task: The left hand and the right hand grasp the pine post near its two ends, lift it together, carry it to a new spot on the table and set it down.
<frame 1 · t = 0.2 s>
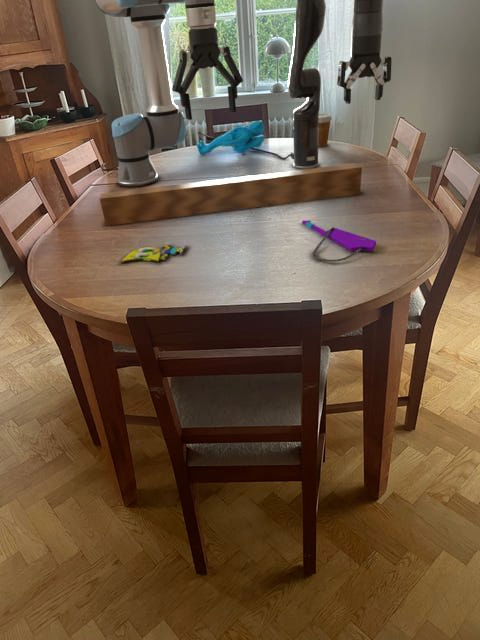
left hand: (211, 115, 136), 28 cm above the table, tool pointing down, fingers open, 13 cm apart
right hand: (362, 101, 132), 28 cm above the table, tool pointing down, fingers open, 8 cm apart
toy 2: (154, 254, 126), on the table
toy: (231, 153, 210), on the table
post: (234, 207, 152), on the table
disposable coffee cup: (319, 145, 209), on the table
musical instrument: (327, 244, 123), on the table
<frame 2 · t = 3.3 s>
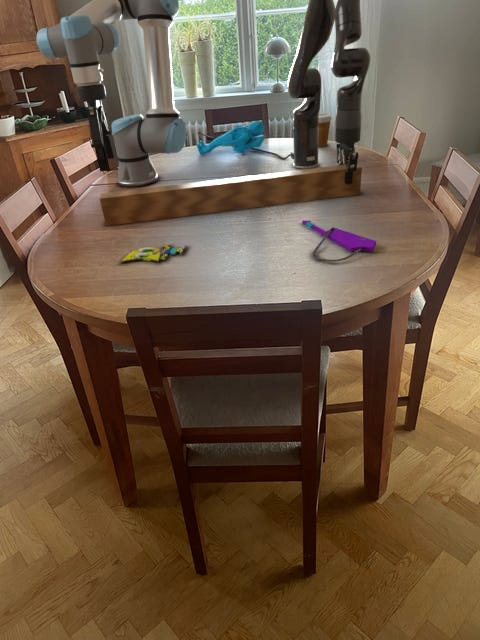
left hand: (107, 164, 140), 18 cm above the table, tool pointing down, fingers open, 13 cm apart
right hand: (345, 181, 152), 4 cm above the table, tool pointing down, fingers closed on post, 5 cm apart
post: (234, 207, 152), on the table, touching right hand
everything else where it was.
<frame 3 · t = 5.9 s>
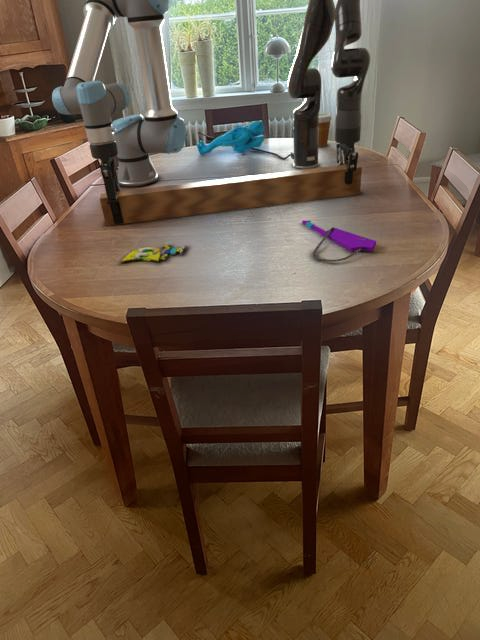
left hand: (119, 219, 149), 1 cm above the table, tool pointing down, fingers closed on post, 5 cm apart
right hand: (345, 181, 152), 4 cm above the table, tool pointing down, fingers closed on post, 5 cm apart
post: (234, 207, 152), on the table, touching left hand, right hand
everything else where it was.
when the left hand's fingers open (2 cm above the table, at t = 11.2 s): post stays where it is, on the table.
when the right hand's fingers open (5 cm above the table, at t = 11.4 s): post stays where it is, on the table.
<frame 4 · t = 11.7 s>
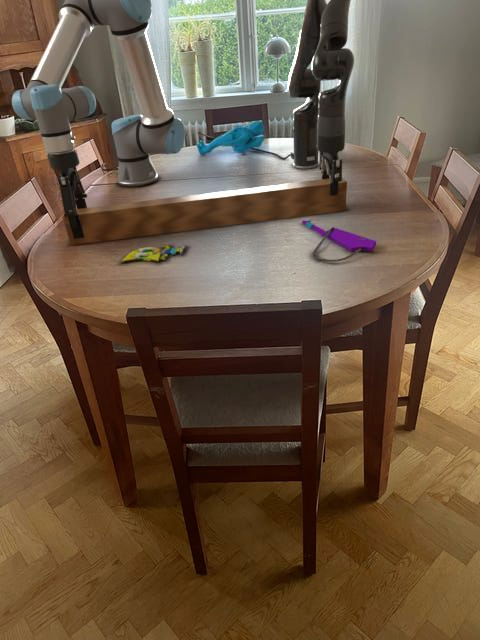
left hand: (82, 229, 136), 4 cm above the table, tool pointing down, fingers open, 12 cm apart
right hand: (329, 190, 140), 6 cm above the table, tool pointing down, fingers open, 7 cm apart
post: (210, 224, 141), on the table
everything else where it was.
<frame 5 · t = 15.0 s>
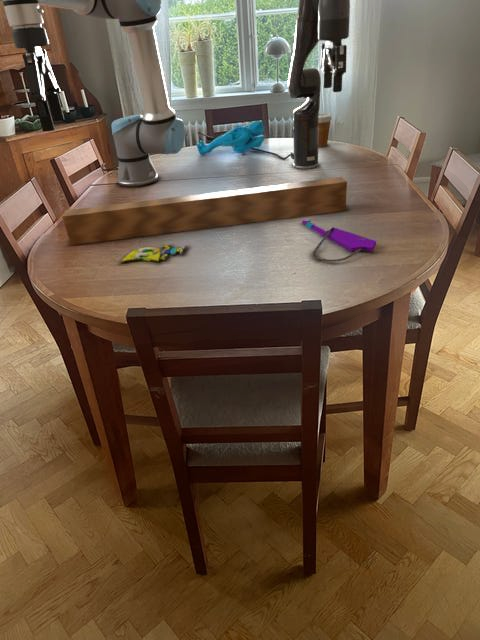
left hand: (54, 125, 121), 31 cm above the table, tool pointing down, fingers open, 13 cm apart
right hand: (332, 89, 126), 33 cm above the table, tool pointing down, fingers open, 8 cm apart
nothing on the table moved.
at the end: post inside the target area (0.4 cm from its centre), on the table; post tilted 0°; post never tilted more than 2° during the clip; both hands held the post at the same time; the left hand is holding nothing; the right hand is holding nothing; post at rest at the end (0.0 cm/s) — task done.
